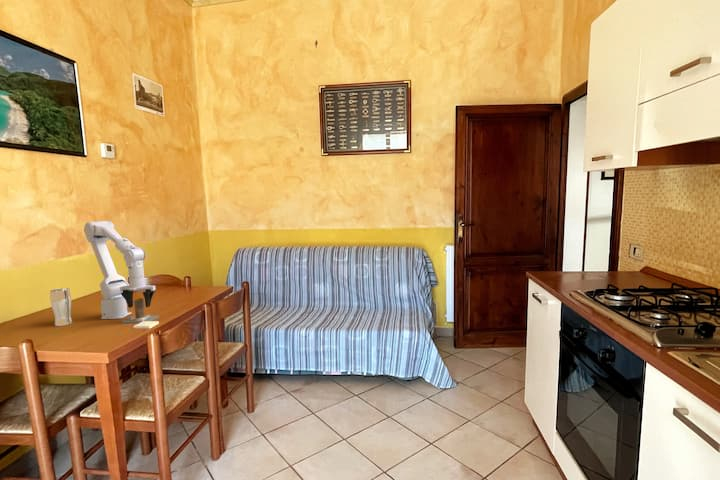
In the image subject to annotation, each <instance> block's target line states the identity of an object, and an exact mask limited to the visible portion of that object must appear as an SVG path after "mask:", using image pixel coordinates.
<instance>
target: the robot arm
mask: <svg viewBox="0 0 720 480" xmlns="http://www.w3.org/2000/svg"><path fill="white" fill-rule="evenodd" d="M83 227H84V228H83V232H84V235H85V238H86V239H87V242H88V243H89V244H90V245H91V247H92V251H93V253H94V255H95V258H96V260H97V262H98V265H99V268H100V271H101V273H102V276H103V279H102V281H101V282H100V284H99V287H100V294H101V296H102V297H103V298H102V300H101V302H100V312H101V318H100V319H101V320H107V319H108V320H111V319H113V320H114V319H115V320H117V319H123V318H125V317H127V316H129V315H131V314H133V311H132V312H131V311H128V308H129V309H130V308H133V307H134V299H133V298H134V292H137V291H138V292H139V291H141V292H142V294H143V297H144V298H143V299H144V306H145V308H149V307H151V303H152V299H153V296H154V294H155V292H156V291H155V290H156V285H150V284H146V282H145V270H144V268H145V267H144V261H145V260H146V257H147V254H146V251H145V249H144V248H143V247H138V246H136V245H135V244H133V243H132V242H131V241H130V240H129V238H126V237H122V236H121V235H120V234H119V232H118V231H116V229H115V224H114V223H113V222H112V221H111V220H104V221H101V220H100V221H87V222H86V223H85V225H84V226H83ZM107 241H111V242H113V244H114V247H115V248H116V250H118V252H119V253H120V254H122V255H123V261H124V262H125V266H126V267H127V271H128V272H127V273H128V281H127V280H126V278H125V276H122V275H120V274H118V272H117V269H116V266H115V264H114V261H113V259H112V256H111V255H110V251H109V249H108V247H107V244H106V242H107Z"/></svg>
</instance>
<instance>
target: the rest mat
mask: <svg viewBox="0 0 720 480" xmlns="http://www.w3.org/2000/svg"><path fill="white" fill-rule="evenodd" d="M134 317H136V315H132V316H130V317H128V318H126V319H124V320H122V321H121V322H120V323H121V324H139V323H141V322H143V321H156V319H158V318H160V315H150V317H148V318H147V319H145V320H143V321H131V319H132V318H134Z"/></svg>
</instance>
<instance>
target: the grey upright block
mask: <svg viewBox="0 0 720 480" xmlns="http://www.w3.org/2000/svg"><path fill="white" fill-rule="evenodd" d="M133 306H134V312H135V313H134V314H135V315H134V316H136V317H134V318H132V319H131V321H143V320H145V319H147V318H148V317H150V316H151V314H146V311H145V299H144V298H141V297H140V298H137V299H136V300H133Z"/></svg>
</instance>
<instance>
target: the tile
mask: <svg viewBox="0 0 720 480" xmlns="http://www.w3.org/2000/svg"><path fill="white" fill-rule="evenodd" d="M159 324H160V322H159V321H158V320H157V321H156V320H153V321H143V322H141V323H136V324H135V325H133V327H132V328H133V329H138V330H139V329H141V330H142V329H144V330H145V329H146V330H147V329H151V328H153V327H156V326H157V325H159Z"/></svg>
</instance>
